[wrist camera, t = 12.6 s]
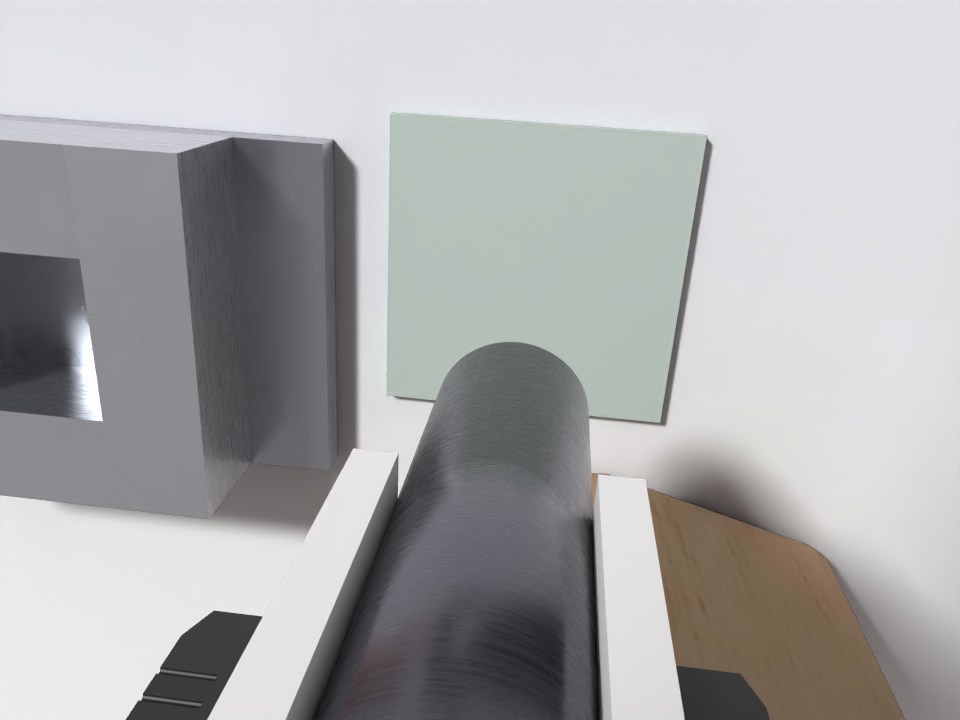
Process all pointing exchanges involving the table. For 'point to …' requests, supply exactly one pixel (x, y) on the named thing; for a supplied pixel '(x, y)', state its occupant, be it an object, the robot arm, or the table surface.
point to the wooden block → (764, 615)
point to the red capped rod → (483, 559)
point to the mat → (539, 251)
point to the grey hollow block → (162, 311)
